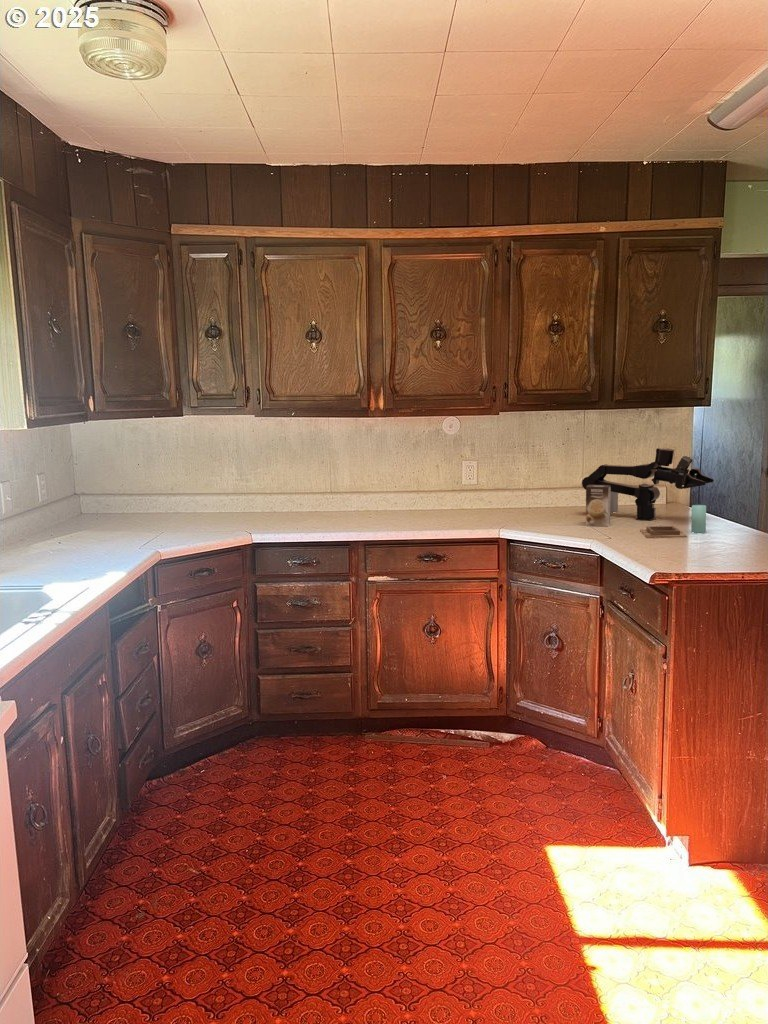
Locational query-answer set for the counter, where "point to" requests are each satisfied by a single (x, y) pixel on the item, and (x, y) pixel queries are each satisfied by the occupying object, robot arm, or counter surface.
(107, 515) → the counter surface
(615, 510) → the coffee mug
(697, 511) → the green dome-top cylinder
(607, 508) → the coffee box
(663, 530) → the cradle board
